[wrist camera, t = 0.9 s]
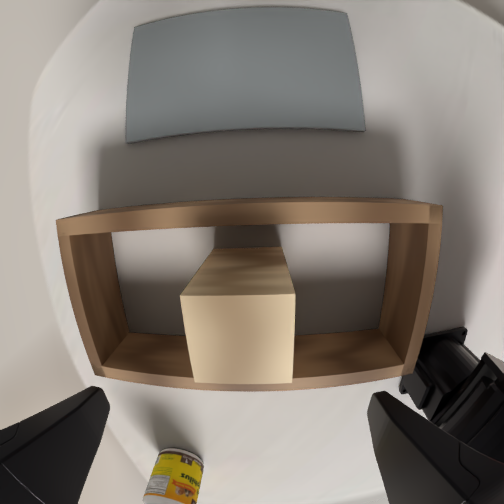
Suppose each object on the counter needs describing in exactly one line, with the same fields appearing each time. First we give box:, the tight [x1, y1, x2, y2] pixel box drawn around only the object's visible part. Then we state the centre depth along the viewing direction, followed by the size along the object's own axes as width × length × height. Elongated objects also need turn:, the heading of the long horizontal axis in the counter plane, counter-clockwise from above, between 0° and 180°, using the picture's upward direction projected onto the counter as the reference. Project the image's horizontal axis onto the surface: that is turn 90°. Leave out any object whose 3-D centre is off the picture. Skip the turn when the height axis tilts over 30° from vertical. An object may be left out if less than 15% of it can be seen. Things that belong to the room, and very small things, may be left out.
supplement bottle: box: [143, 448, 204, 504], centre depth 20 cm, size 6×6×10 cm
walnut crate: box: [56, 197, 443, 391], centre depth 16 cm, size 22×11×5 cm, turn 92°
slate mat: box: [126, 7, 365, 144], centre depth 15 cm, size 16×10×1 cm, turn 92°
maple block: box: [180, 247, 295, 384], centre depth 15 cm, size 4×4×8 cm
